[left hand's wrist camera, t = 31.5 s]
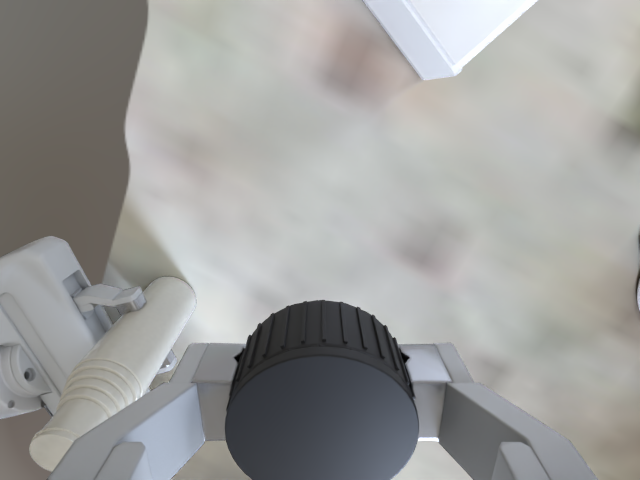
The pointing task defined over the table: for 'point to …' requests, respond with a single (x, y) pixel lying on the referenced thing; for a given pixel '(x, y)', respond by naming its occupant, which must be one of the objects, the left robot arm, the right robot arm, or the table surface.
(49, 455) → the bottle
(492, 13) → the butter dish
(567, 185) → the table surface
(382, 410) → the cap
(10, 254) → the right robot arm
